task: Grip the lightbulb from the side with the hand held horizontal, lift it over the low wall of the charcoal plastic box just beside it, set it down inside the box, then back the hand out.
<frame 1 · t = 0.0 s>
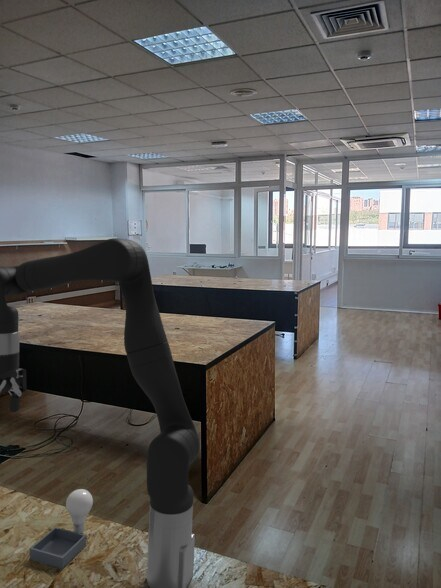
hand: (1, 416, 107), 29 cm above the table, tool pointing down, fingers open, 8 cm apart
lightbulb: (78, 533, 111), on the table
walled box: (58, 552, 103), on the table
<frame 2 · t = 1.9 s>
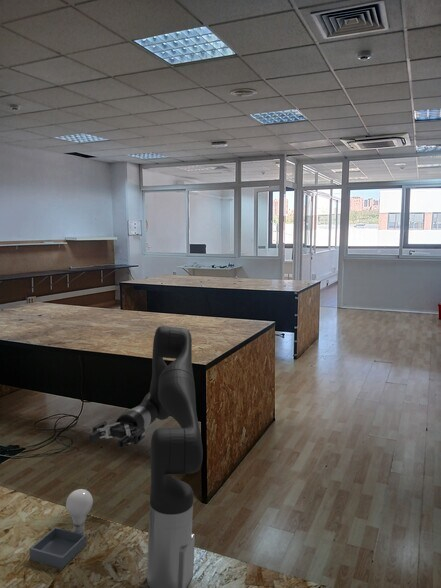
hand: (105, 442, 120), 19 cm above the table, tool horizontal, fingers open, 8 cm apart
nothing on the table moved.
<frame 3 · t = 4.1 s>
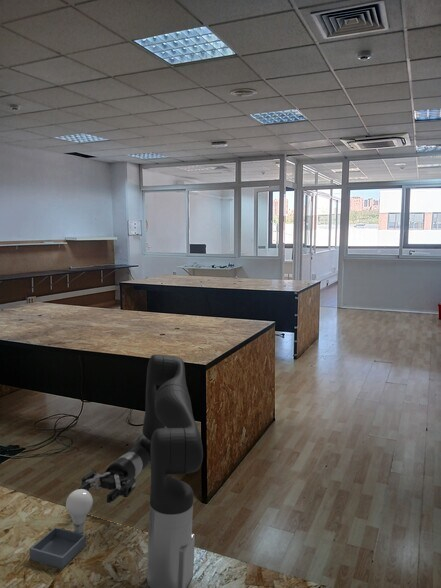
hand: (93, 496, 116), 6 cm above the table, tool horizontal, fingers open, 8 cm apart
nothing on the table moved.
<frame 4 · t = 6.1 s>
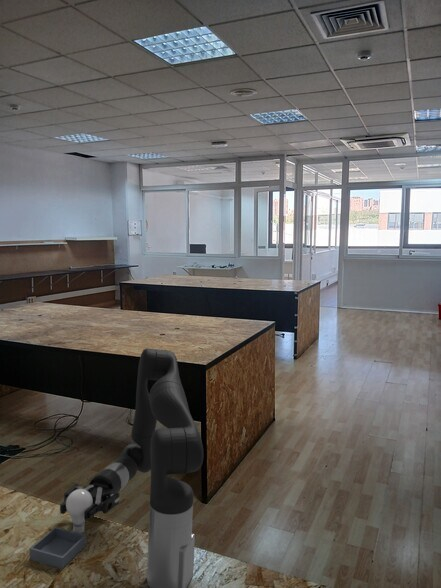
hand: (73, 513, 108), 7 cm above the table, tool horizontal, fingers closed on lightbulb, 6 cm apart
lightbulb: (78, 533, 111), on the table, touching gripper
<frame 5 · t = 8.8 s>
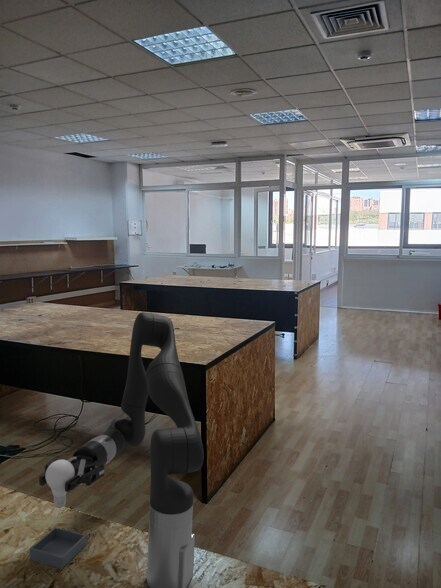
hand: (53, 484, 100), 17 cm above the table, tool horizontal, fingers closed on lightbulb, 6 cm apart
lightbulb: (59, 507, 103), point 11 cm above the table, touching gripper
when the fingers open (8 cm above the table, at t = 11.7 s): lightbulb drops 1 cm, resting on walled box.
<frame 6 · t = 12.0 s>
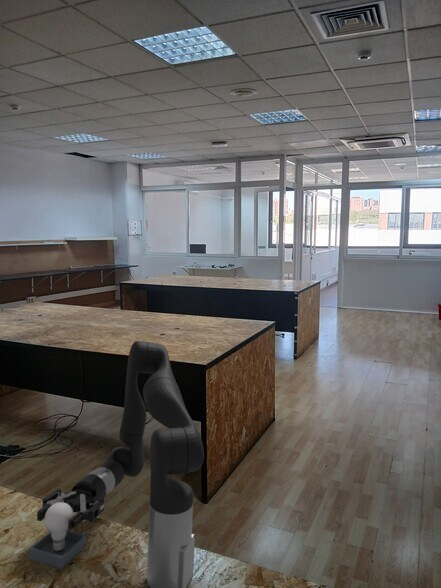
hand: (53, 521, 101), 9 cm above the table, tool horizontal, fingers open, 8 cm apart
lightbulb: (58, 550, 103), resting on walled box
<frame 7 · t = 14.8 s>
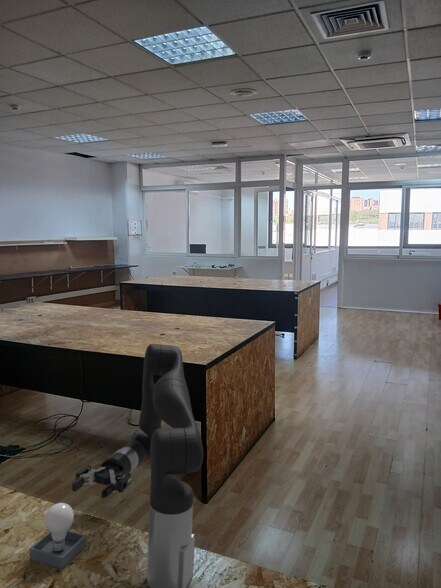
hand: (88, 491, 113), 9 cm above the table, tool horizontal, fingers open, 8 cm apart
nothing on the table moved.
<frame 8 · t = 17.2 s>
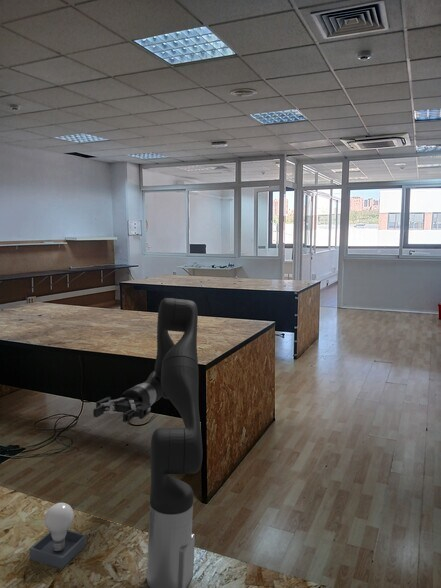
hand: (109, 416, 115), 28 cm above the table, tool horizontal, fingers open, 8 cm apart
nothing on the table moved.
at the end: lightbulb 0.2 cm off-centre on the walled box, point 0.2 cm above the walled box's base; the gripper is holding nothing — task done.
